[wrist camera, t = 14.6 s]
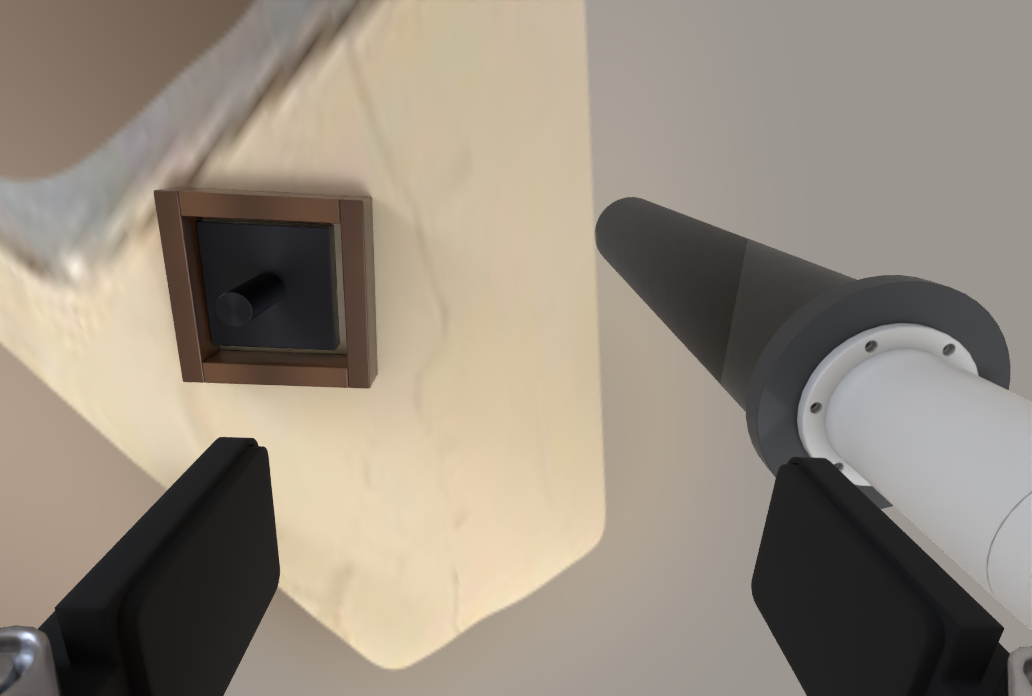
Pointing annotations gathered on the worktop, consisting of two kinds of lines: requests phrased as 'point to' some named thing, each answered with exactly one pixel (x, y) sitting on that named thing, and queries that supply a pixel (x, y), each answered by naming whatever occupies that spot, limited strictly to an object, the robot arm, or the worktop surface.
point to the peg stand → (270, 284)
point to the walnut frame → (189, 297)
